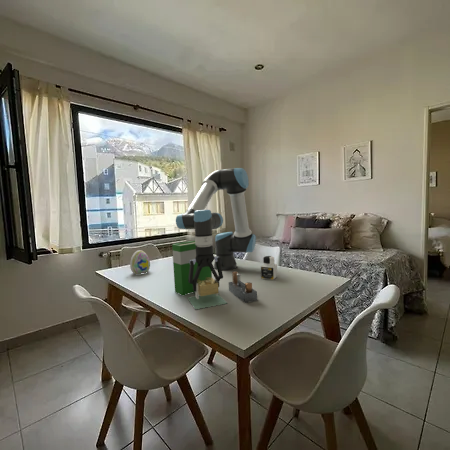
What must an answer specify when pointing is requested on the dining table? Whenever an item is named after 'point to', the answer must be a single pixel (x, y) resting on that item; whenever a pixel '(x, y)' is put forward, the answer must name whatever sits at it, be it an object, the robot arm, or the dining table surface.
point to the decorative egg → (140, 262)
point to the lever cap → (207, 286)
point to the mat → (206, 301)
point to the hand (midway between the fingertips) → (206, 296)
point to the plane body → (242, 289)
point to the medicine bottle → (268, 268)
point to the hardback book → (186, 266)
